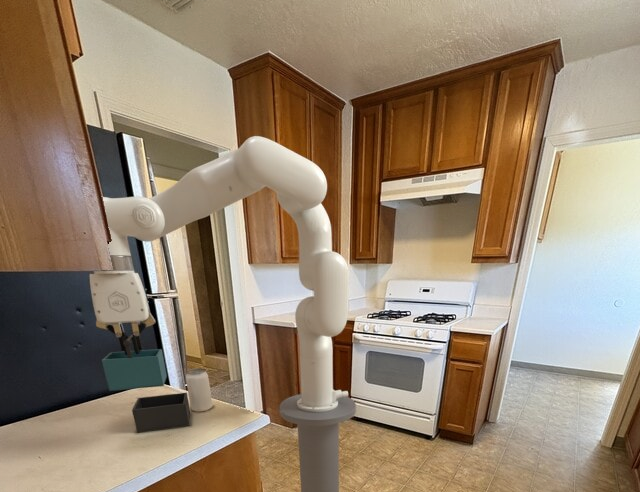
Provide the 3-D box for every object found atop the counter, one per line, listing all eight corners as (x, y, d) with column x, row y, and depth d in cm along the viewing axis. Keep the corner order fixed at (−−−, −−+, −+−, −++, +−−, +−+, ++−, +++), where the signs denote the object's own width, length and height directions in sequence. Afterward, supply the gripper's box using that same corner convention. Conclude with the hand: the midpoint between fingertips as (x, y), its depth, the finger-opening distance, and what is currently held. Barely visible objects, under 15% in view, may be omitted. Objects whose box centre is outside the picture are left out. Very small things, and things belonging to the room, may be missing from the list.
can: (198, 413, 106) (191, 375, 102) (187, 408, 110) (180, 371, 106) (216, 407, 111) (211, 370, 106) (206, 403, 115) (200, 367, 110)
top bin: (166, 376, 89) (158, 332, 85) (163, 386, 82) (154, 338, 77) (117, 380, 86) (106, 335, 82) (109, 391, 79) (96, 342, 74)
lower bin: (190, 413, 107) (186, 392, 104) (189, 426, 98) (185, 403, 96) (143, 418, 103) (138, 397, 101) (137, 433, 95) (131, 410, 92)
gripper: (63, 266, 68) (90, 360, 76) (151, 265, 73) (168, 353, 80) (76, 267, 75) (99, 352, 82) (155, 265, 79) (171, 347, 86)
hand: (133, 352), depth 81 cm, fingers closed on top bin, 1 cm apart
